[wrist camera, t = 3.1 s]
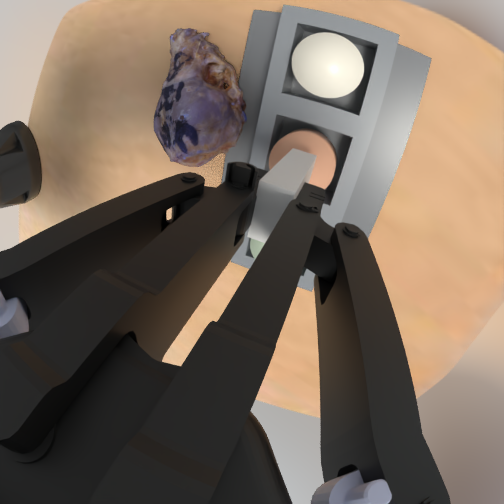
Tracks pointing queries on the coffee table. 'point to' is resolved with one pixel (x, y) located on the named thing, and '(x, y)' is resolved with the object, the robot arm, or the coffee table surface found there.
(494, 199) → the coffee table surface
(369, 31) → the button panel
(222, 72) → the purple lumpy piece
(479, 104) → the coffee table surface
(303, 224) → the robot arm
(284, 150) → the button terracotta
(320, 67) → the button cream
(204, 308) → the coffee table surface
